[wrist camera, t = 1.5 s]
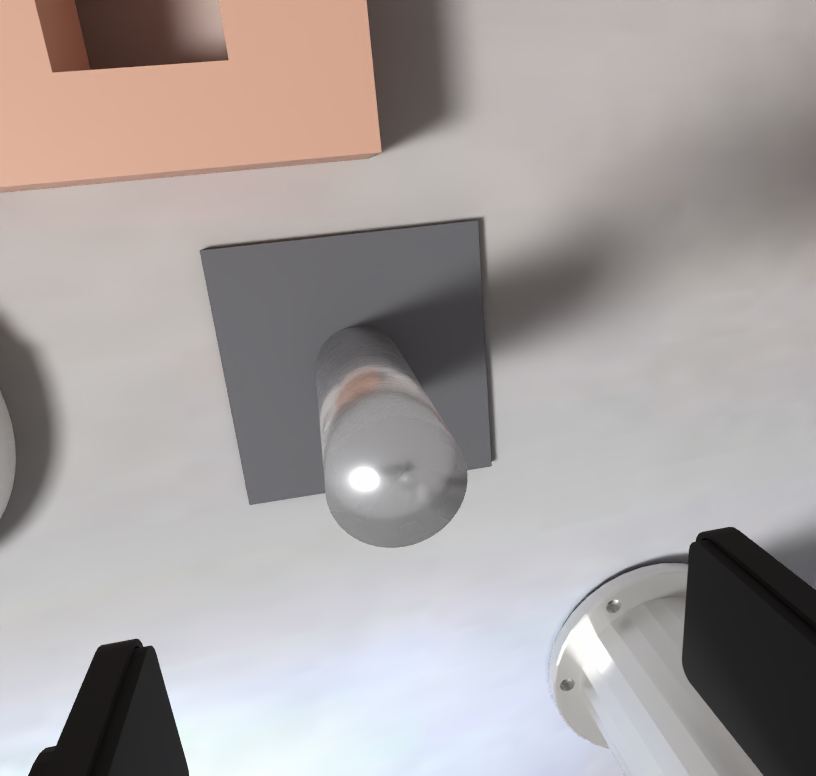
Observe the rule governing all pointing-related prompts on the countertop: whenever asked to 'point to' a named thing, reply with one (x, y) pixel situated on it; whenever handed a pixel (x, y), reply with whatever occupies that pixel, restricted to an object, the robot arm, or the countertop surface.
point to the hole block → (185, 97)
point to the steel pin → (383, 443)
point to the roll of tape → (6, 456)
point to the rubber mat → (333, 311)
